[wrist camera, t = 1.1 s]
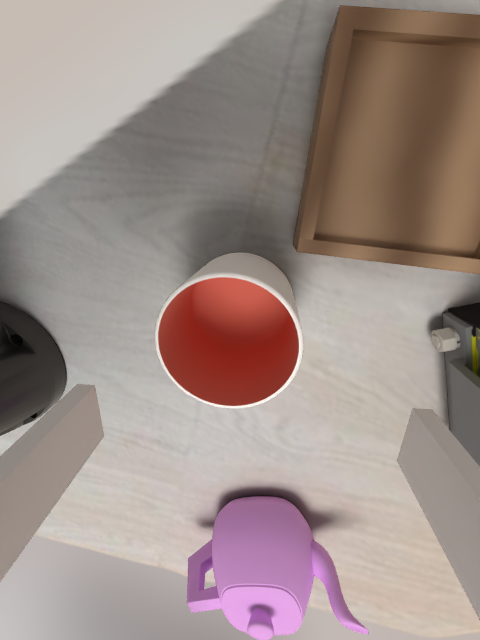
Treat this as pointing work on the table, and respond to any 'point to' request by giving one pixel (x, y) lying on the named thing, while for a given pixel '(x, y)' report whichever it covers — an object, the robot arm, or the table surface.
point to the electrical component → (462, 373)
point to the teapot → (263, 569)
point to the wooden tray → (396, 142)
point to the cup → (231, 332)
